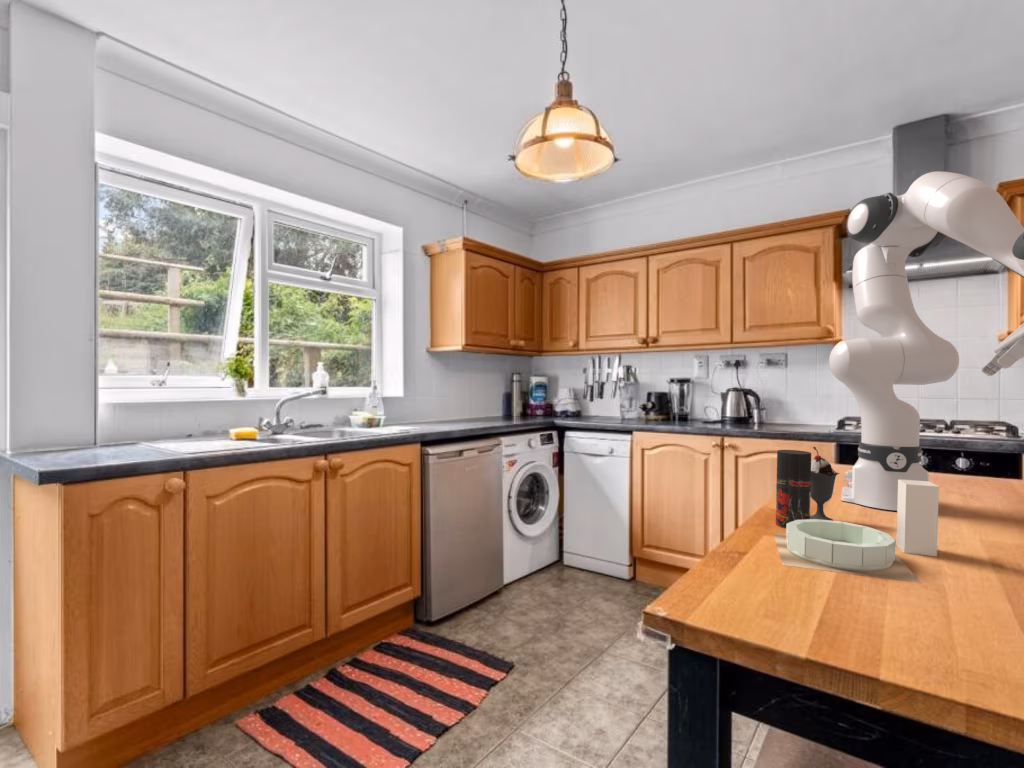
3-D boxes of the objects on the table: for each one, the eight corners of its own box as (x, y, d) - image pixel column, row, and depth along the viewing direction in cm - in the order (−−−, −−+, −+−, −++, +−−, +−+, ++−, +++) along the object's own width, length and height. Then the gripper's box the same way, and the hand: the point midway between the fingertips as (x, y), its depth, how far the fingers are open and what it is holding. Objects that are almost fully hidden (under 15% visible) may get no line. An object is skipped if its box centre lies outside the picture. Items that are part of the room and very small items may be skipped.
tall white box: (896, 546, 95) (898, 479, 94) (927, 550, 93) (929, 481, 93) (904, 554, 91) (906, 484, 90) (936, 558, 89) (938, 486, 89)
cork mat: (772, 535, 101) (772, 533, 101) (886, 547, 94) (886, 545, 94) (782, 567, 84) (782, 564, 84) (921, 585, 78) (921, 582, 78)
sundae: (807, 513, 117) (808, 444, 116) (842, 519, 112) (844, 448, 112) (796, 519, 112) (798, 447, 112) (833, 526, 107) (834, 451, 107)
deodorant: (814, 533, 102) (815, 454, 102) (780, 531, 104) (782, 453, 103) (803, 524, 108) (805, 450, 108) (772, 522, 109) (773, 449, 109)
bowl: (782, 536, 99) (783, 515, 99) (878, 546, 93) (879, 525, 93) (792, 563, 85) (792, 539, 85) (905, 577, 79) (906, 551, 79)
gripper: (1026, 307, 95) (961, 366, 99) (1071, 274, 77) (989, 346, 81) (1064, 329, 92) (995, 389, 96) (1120, 300, 75) (1032, 374, 78)
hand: (993, 369), depth 88 cm, fingers open, 8 cm apart
